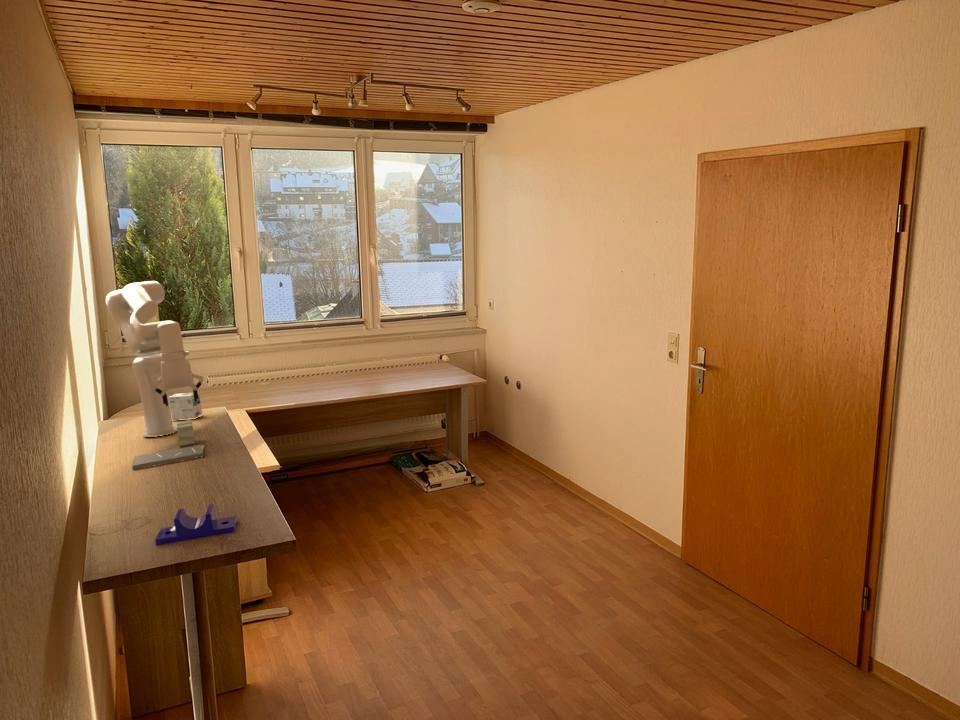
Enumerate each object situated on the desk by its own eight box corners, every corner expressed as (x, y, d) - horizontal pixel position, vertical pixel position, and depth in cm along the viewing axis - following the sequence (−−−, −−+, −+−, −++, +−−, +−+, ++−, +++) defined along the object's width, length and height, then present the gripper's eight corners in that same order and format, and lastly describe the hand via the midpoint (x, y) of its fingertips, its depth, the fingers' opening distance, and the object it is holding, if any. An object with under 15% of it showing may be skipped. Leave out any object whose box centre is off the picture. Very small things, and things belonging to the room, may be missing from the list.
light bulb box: (203, 416, 304) (199, 391, 302) (195, 420, 297) (191, 395, 295) (180, 417, 305) (175, 393, 303) (171, 421, 298) (167, 396, 297)
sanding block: (180, 443, 262) (177, 422, 261) (195, 440, 264) (191, 420, 263) (180, 449, 254) (177, 427, 253) (195, 446, 256) (192, 425, 254)
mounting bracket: (156, 547, 170) (152, 523, 169) (161, 535, 177) (157, 512, 176) (235, 533, 174) (231, 510, 173) (237, 522, 181) (233, 500, 180)
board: (135, 460, 245) (134, 456, 244) (204, 448, 253) (204, 443, 252) (132, 470, 234) (132, 465, 233) (205, 456, 242) (205, 452, 241)
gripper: (199, 351, 260) (206, 397, 262) (147, 359, 253) (156, 405, 256) (199, 354, 253) (207, 400, 256) (146, 361, 247) (155, 409, 249)
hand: (181, 403), depth 256 cm, fingers open, 9 cm apart
